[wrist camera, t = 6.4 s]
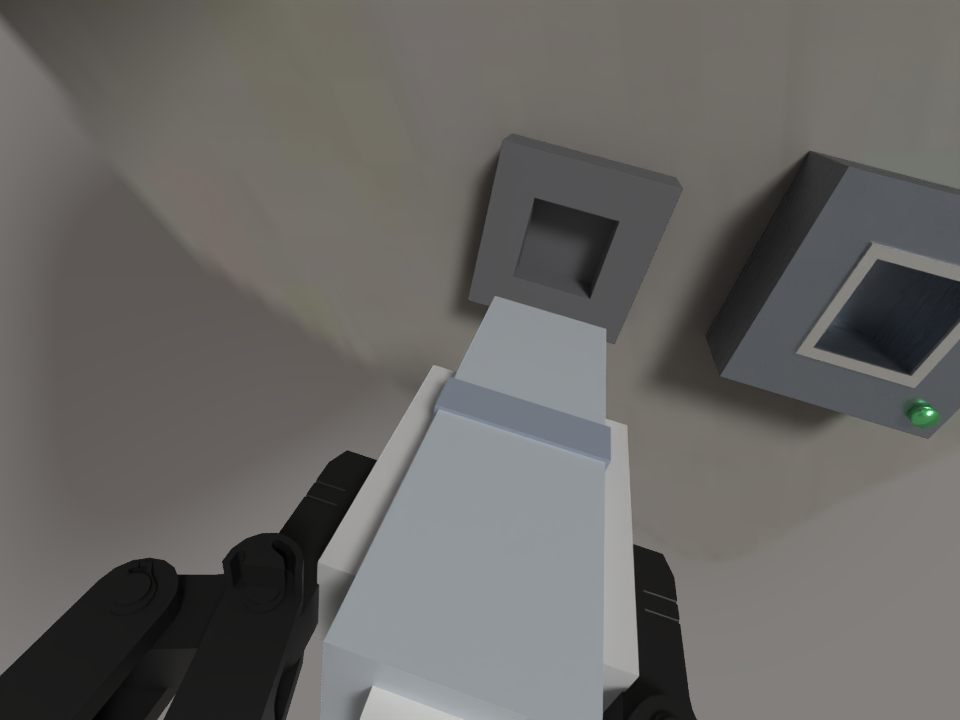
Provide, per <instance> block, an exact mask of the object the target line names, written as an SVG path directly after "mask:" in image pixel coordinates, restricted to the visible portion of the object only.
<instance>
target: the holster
mask: <svg viewBox="0 0 960 720" xmlns="http://www.w3.org/2000/svg"><path fill="white" fill-rule="evenodd" d="M682 190H683V188H682V186H681V185H680V183H679V182H678V180H677V178H675V177H671V176H667V175H663V174H660V173H656V172H652V171H649V170H645V169H641V168H638V167H634V166H630V165H626V164H623V163H619V162H615V161H612V160H608V159H604V158H601V157H597V156H593V155H589V154H586V153H582V152H578V151H575V150H571V149H567V148H564V147H560V146H556V145H552V144H549V143H545V142H541V141H538V140H534V139H530V138H527V137H523V136H519V135H515V134H511V135H510V136H508V137H507V138H505V139H504V140H503V142H502V147H501V151H500V156H499V161H498V165H497V170H496V174H495V179H494V183H493V188H492V193H491V197H490V202H489V206H488V211H487V215H486V220H485V225H484V229H483V234H482V238H481V243H480V247H479V252H478V257H477V261H476V266H475V270H474V275H473V279H472V284H471V289H470V293H469V298H468V300H469V301H473V302H476V303H479V304H483V305H486V306H489V307H490V305H491V303H492V301H493V299H494V297H495V296H497V297H501V298H504V299H508V300H511V301H514V302H518V303H521V304H524V305H528V306H531V307H534V308H538V309H541V310H544V311H548V312H551V313H555V314H558V315H561V316H565V317H568V318H571V319H575V320H578V321H581V322H585V323H588V324H591V325H595V326H598V327H602V328H605V329H606V342H609V343H612V344H615V342H616V340H617V338H618V335H619V333H620V331H621V329H622V326H623V324H624V322H625V319H626V317H627V315H628V313H629V310H630V308H631V306H632V303H633V301H634V299H635V297H636V294H637V292H638V290H639V288H640V285H641V283H642V281H643V278H644V276H645V274H646V272H647V269H648V267H649V265H650V262H651V260H652V258H653V256H654V253H655V251H656V249H657V247H658V244H659V242H660V240H661V237H662V235H663V233H664V231H665V228H666V226H667V224H668V222H669V219H670V217H671V215H672V212H673V210H674V208H675V206H676V203H677V201H678V199H679V196H680V194H681V192H682Z"/></svg>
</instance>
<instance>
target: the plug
mask: <svg viewBox="0 0 960 720" xmlns="http://www.w3.org/2000/svg"><path fill="white" fill-rule="evenodd" d="M605 421H606V329H605V328H602V327H598V326H595V325H591V324H588V323H585V322H581V321H578V320H575V319H571V318H568V317H565V316H561V315H558V314H555V313H551V312H548V311H544V310H541V309H538V308H534V307H531V306H528V305H524V304H521V303H518V302H514V301H511V300H508V299H504V298H501V297H497V296H495V297H494V299H493V301H492V303H491V305H490V307H489V309H488V311H487V313H486V315H485V317H484V319H483V321H482V323H481V325H480V327H479V329H478V331H477V333H476V335H475V337H474V339H473V341H472V343H471V345H470V347H469V349H468V351H467V353H466V355H465V357H464V359H463V361H462V363H461V365H460V367H459V369H458V371H457V373H456V375H455V377H454V378H452V377H449V379H448V381H447V383H446V385H445V387H444V389H443V391H442V392H441V394H440V396H439V398H438V400H437V402H436V404H435V408H434V413H433V418H432V423H431V426H430V428H429V430H428V432H427V434H426V436H425V438H424V440H423V442H422V444H421V446H420V448H419V450H418V452H417V454H416V456H415V458H414V460H413V462H412V464H411V466H410V468H409V470H408V472H407V474H406V476H405V478H404V480H403V482H402V484H401V486H400V488H399V490H398V492H397V494H396V496H395V498H394V500H393V502H392V504H391V506H390V508H389V510H388V512H387V514H386V516H385V518H384V520H383V522H382V524H381V526H380V528H379V530H378V532H377V534H376V536H375V538H374V541H373V543H372V545H371V547H370V549H369V551H368V553H367V555H366V557H365V559H364V561H363V563H362V565H361V567H360V569H359V571H358V573H357V575H356V577H355V579H354V581H353V583H352V585H351V587H350V589H349V591H348V593H347V595H346V597H345V599H344V601H343V603H342V605H341V607H340V609H339V611H338V613H337V615H336V617H335V619H334V621H333V623H332V625H331V627H330V629H329V631H328V633H327V635H326V637H325V639H324V641H323V662H322V684H321V708H320V720H603V636H604V528H605V471H606V469H607V467H608V465H609V464H610V462H611V427H609V426H605Z"/></svg>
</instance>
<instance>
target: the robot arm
mask: <svg viewBox="0 0 960 720" xmlns="http://www.w3.org/2000/svg"><path fill="white" fill-rule="evenodd" d="M456 373H457V372H454V371H451V370H448V369H445V368H442V367H438V366H435V365H433V367H432V368H431V370H430V372H429V373H428V375H427V377H426V379H425V380H424V382H423V384H422V385H421V387H420V389H419V391H418V392H417V394H416V396H415V397H414V399H413V401H412V402H411V404H410V406H409V408H408V409H407V411H406V413H405V415H404V416H403V418H402V420H401V422H400V423H399V425H398V426H397V428H396V430H395V431H394V433H393V435H392V437H391V438H390V440H389V442H388V444H387V445H386V447H385V448H384V450H383V452H382V454H381V455H380V457H379V459H378V460H374V459H372V458H369V457H365V456H363V455H359V454H357V453H353V452H350V451H346V452H344V453H343V454H341V455H339V456H338V457H336V458H335V459H333V460H332V461H330V462H329V463H328V464H327V466H326V467H325V469H324V470H323V471H322V473H321V474H320V476H319V477H318V479H317V481H316V483H314V484H313V486H312V487H311V488H310V490H309V491H308V493H307V495H306V497H304V498H303V500H302V501H301V503H300V504H299V505H298V507H297V508H296V510H295V511H294V513H293V514H292V515H291V517H290V518H289V520H288V521H287V522H286V524H285V525H284V527H283V528H282V529H281V531H280V532H279V533H262V534H258V535H255V536H252V537H250V538H246V539H245V540H243V541H242V542H240V543H239V544H238V545H236V546H235V547H233V548H232V549H231V550H230V552H229V553H228V554H227V556H226V557H225V558H224V560H223V561H222V563H223V569H224V574H218V575H177V573H176V571H175V568H174V567H173V566H172V565H170V564H169V563H167V562H166V561H165V560H160V559H154V558H145V559H139V560H132V561H130V562H128V563H125V564H123V565H121V566H118V567H116V568H114V569H113V570H112V571H110V572H109V573H108V574H107V575H105V576H104V577H102V578H101V579H100V580H99V581H98V582H97V583H96V584H95V585H94V586H92V587H91V588H90V589H89V590H88V591H87V592H86V593H85V594H84V595H83V596H82V597H81V598H80V599H79V600H78V601H77V602H76V603H75V604H74V605H73V606H72V607H71V608H70V609H69V610H68V611H67V612H66V613H65V614H64V615H63V616H62V617H61V618H60V619H58V620H57V621H56V622H55V623H54V624H53V625H52V626H51V627H50V628H49V629H48V630H47V631H46V632H45V633H44V634H43V635H42V636H41V637H40V638H39V639H38V640H37V641H36V642H35V643H34V644H33V645H32V646H31V647H30V648H29V649H28V650H27V651H26V652H25V653H23V654H22V655H21V656H20V657H19V658H18V659H17V660H16V661H15V662H14V663H13V664H12V665H11V666H10V667H9V668H8V669H7V670H6V671H5V672H4V673H3V674H2V675H1V676H0V720H157V719H158V718H159V716H160V715H161V713H162V712H163V711H164V709H165V708H166V707H167V705H168V704H169V702H170V701H171V700H172V698H173V697H174V695H175V694H176V695H175V697H174V699H173V701H172V703H171V705H170V707H169V709H168V711H167V713H166V716H165V718H164V720H286V717H287V714H288V710H289V707H290V704H291V700H292V697H293V694H294V690H295V687H296V684H297V680H298V677H299V674H300V670H301V667H302V663H303V655H304V649H305V647H306V645H307V644H308V642H309V640H310V638H311V636H312V634H313V632H314V630H315V628H316V638H318V639H321V640H323V641H324V639H325V637H326V635H327V633H328V631H329V629H330V627H331V625H332V623H333V621H334V619H335V617H336V615H337V613H338V611H339V609H340V607H341V605H342V603H343V601H344V599H345V597H346V595H347V593H348V591H349V589H350V587H351V585H352V583H353V581H354V579H355V577H356V575H357V573H358V571H359V569H360V567H361V565H362V563H363V561H364V559H365V557H366V555H367V553H368V551H369V549H370V547H371V545H372V543H373V541H374V538H375V536H376V534H377V532H378V530H379V528H380V526H381V524H382V522H383V520H384V518H385V516H386V514H387V512H388V510H389V508H390V506H391V504H392V502H393V500H394V498H395V496H396V494H397V492H398V490H399V488H400V486H401V484H402V482H403V480H404V478H405V476H406V474H407V472H408V470H409V468H410V466H411V464H412V462H413V460H414V458H415V456H416V454H417V452H418V450H419V448H420V446H421V444H422V442H423V440H424V438H425V436H426V434H427V432H428V430H429V428H430V426H431V423H432V418H433V413H434V408H435V404H436V402H437V400H438V398H439V396H440V394H441V392H442V391H443V389H444V387H445V385H446V383H447V381H448V379H449V377H452V378H454V377H455V375H456ZM605 426H609V427H611V462H610V464H609V465H608V467H607V469H606V471H605V528H604V636H603V720H697V719H696V717H695V715H694V713H693V710H692V706H691V702H690V697H689V690H688V682H687V675H686V667H685V659H684V651H683V643H682V635H681V627H680V624H679V612H678V605H677V604H676V601H677V596H676V589H675V581H674V576H673V574H672V572H671V570H670V568H669V566H668V564H667V562H666V560H665V557H664V555H663V554H661V553H658V552H655V551H652V550H649V549H646V548H643V547H640V546H637V545H634V544H633V539H632V518H631V498H630V478H629V457H628V437H627V425H624V424H621V423H617V422H614V421H611V420H608V419H606V421H605Z"/></svg>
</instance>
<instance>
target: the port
mask: <svg viewBox="0 0 960 720" xmlns="http://www.w3.org/2000/svg"><path fill="white" fill-rule="evenodd" d="M706 339H707V342H708V345H709V347H710V350H711V353H712V356H713V359H714V361H715V364H716V367H717V370H718V372H719V375H720V376H721V377H724V378H727V379H730V380H734V381H737V382H740V383H744V384H747V385H750V386H754V387H757V388H760V389H764V390H767V391H770V392H774V393H777V394H780V395H784V396H787V397H790V398H794V399H797V400H800V401H804V402H807V403H810V404H813V405H817V406H820V407H823V408H827V409H830V410H833V411H837V412H840V413H843V414H847V415H850V416H853V417H857V418H860V419H863V420H867V421H870V422H873V423H877V424H880V425H883V426H886V427H890V428H893V429H896V430H900V431H903V432H906V433H910V434H913V435H916V436H920V437H923V438H926V439H929V438H930V437H931V436H932V435H933V434H934V433H935V432H936V431H937V430H938V429H939V428H940V427H941V426H942V425H943V424H944V423H945V422H946V421H947V420H948V419H949V418H950V417H951V416H952V415H953V414H954V413H955V412H956V411H957V410H958V409H959V408H960V190H959V189H955V188H951V187H948V186H944V185H940V184H936V183H932V182H928V181H924V180H921V179H917V178H913V177H909V176H905V175H901V174H897V173H894V172H890V171H886V170H882V169H878V168H874V167H871V166H867V165H863V164H859V163H855V162H851V161H847V160H844V159H840V158H836V157H832V156H828V155H824V154H820V153H817V152H813V151H810V152H809V154H808V155H807V157H806V159H805V161H804V162H803V164H802V166H801V168H800V170H799V171H798V173H797V175H796V177H795V178H794V180H793V182H792V184H791V186H790V187H789V189H788V191H787V193H786V194H785V196H784V198H783V200H782V202H781V203H780V205H779V207H778V209H777V210H776V212H775V214H774V216H773V218H772V219H771V221H770V223H769V225H768V227H767V228H766V230H765V232H764V234H763V235H762V237H761V239H760V241H759V243H758V244H757V246H756V248H755V250H754V251H753V253H752V255H751V257H750V259H749V260H748V262H747V264H746V266H745V267H744V269H743V271H742V273H741V275H740V276H739V278H738V280H737V282H736V283H735V285H734V287H733V289H732V291H731V292H730V294H729V296H728V298H727V300H726V301H725V303H724V305H723V307H722V308H721V310H720V312H719V314H718V316H717V317H716V319H715V321H714V323H713V324H712V326H711V328H710V330H709V332H708V333H707V335H706Z"/></svg>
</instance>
